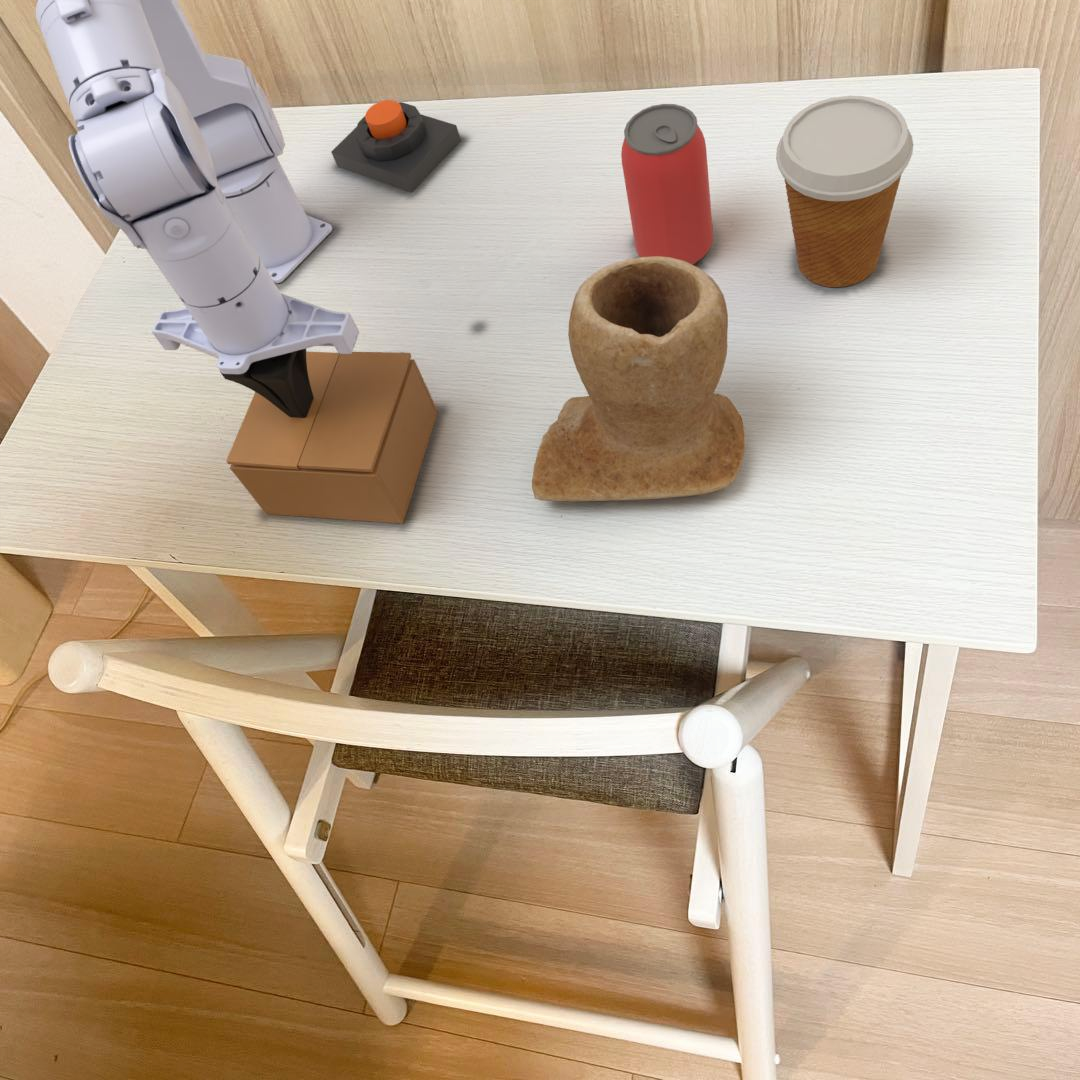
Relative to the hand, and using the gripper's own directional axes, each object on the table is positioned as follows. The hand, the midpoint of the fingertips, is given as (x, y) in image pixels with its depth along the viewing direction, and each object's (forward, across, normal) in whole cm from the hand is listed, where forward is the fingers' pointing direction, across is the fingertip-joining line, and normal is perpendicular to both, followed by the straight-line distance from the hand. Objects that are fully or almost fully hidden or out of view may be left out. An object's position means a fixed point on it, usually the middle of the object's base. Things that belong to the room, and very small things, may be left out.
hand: (301, 407), depth 77 cm
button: (+4, -5, +37) cm, 37 cm away
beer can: (+7, +24, +24) cm, 35 cm away
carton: (+7, +2, 0) cm, 7 cm away
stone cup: (+7, +25, +3) cm, 26 cm away
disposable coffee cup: (+7, +38, +22) cm, 44 cm away
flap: (0, -1, 0) cm, 1 cm away
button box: (+7, -5, +37) cm, 38 cm away
